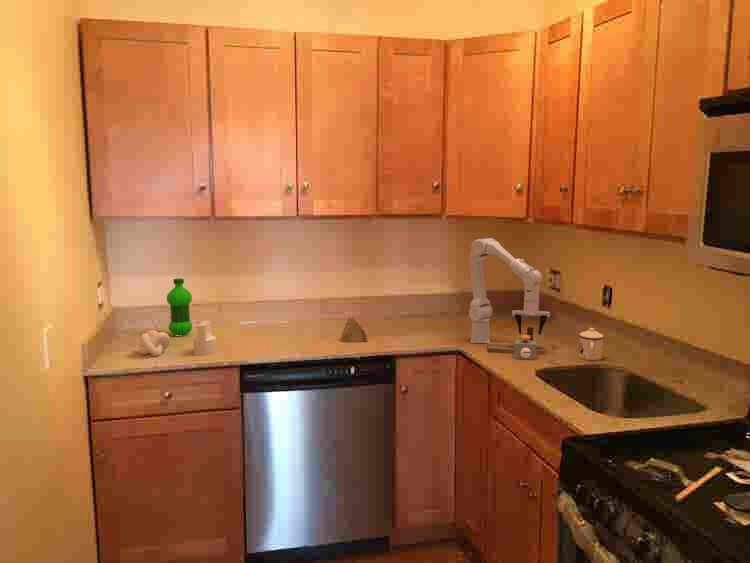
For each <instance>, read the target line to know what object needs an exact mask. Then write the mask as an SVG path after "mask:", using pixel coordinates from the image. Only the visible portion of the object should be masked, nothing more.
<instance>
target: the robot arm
mask: <svg viewBox="0 0 750 563" xmlns="http://www.w3.org/2000/svg"><path fill="white" fill-rule="evenodd" d="M470 247H471V248H470V249H471V250H470V254H469V258H468V261H469V269H470V270H469V271H470V279H471V287H472V288H471V289H472V291H471V292H472V300H471V302H470V304H469V306H470V308H469V311H468V315H469V318H470V319H471V336H470V343H471V344H472V343H473V344H475V343H476V344H488V343H489V342H491V341H490V340H491V339H490V320H491V317H492V316H493V313H494V312H493V311H494V310H493V307H492V306H491V300H489V299H488V298H487V290H486V282H485V273H484V262H483V261H484V260H485V259H486V258H487V257H488V256H490V255H495V256H496V257H498V258H499V259H500V260H502V261H503V262H505V263H506V264H507V265H509V269H510V271H512V272H513V273H514V274H515V275H517V277H519V278H520V279H521V280H522V281H521V282H522V283H523V286H524V288H523V289H524V294H523V295H524V296H523V309H517V310H515V309H513V310H511V316H512V317H514V318H515V320H516V321H515V322H516V323H517V327H518V328H517V329H518V334H519V335H522V317H539V321H538V322H539V323H538V324H539V326H538V335H539V336H541V335H542V331H543V329H544V326H545V324H546V322H547V320H548V318H550V316H551V314H550V313H551V312H550V311H543V310H539V305H540V304H539V302H540V285H541V283H542V281H543V274H542V272H541V271H540V270H539V269H534V267H533V266H530V265H528V264H527V263H526V262H525V260H524V259H523V258H515V257H514V256H513V255H512V254H511V253H509V252H508V251H507V250H506V249H505V248H504V247H503V246H502V245H501V244H500V242H498V241H497V240H496V239H494V238H493V237H488V238H478V239H476V240H474V241H473V242H472V243H471V245H470Z"/></svg>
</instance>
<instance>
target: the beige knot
mask: <svg viewBox="0 0 750 563" xmlns="http://www.w3.org/2000/svg"><path fill="white" fill-rule="evenodd" d="M170 343H171V338H170V336H169V335H168V333H166V332H162V331H161V332H158V331H157V330H155V329H150V330H147V331H146V332H144V333H142V334H141V336H140V340H139V344H138V352H139V353H140V354H141V355H143V356H146V355H149V354H150V355H151V356H154V357H159V356H161V355H162V353H163V352H164V351H165V350H166V349H167V348H168V347H169V346H170Z"/></svg>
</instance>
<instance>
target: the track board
mask: <svg viewBox="0 0 750 563" xmlns="http://www.w3.org/2000/svg"><path fill="white" fill-rule="evenodd" d="M487 352H488V353H495V352H496V353H501V354H514V347H495V346H489V343H487ZM541 354H544V355H545V354H546V352H545V348H544V346H543V345H542V348H537V349H536V355H541Z"/></svg>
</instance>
